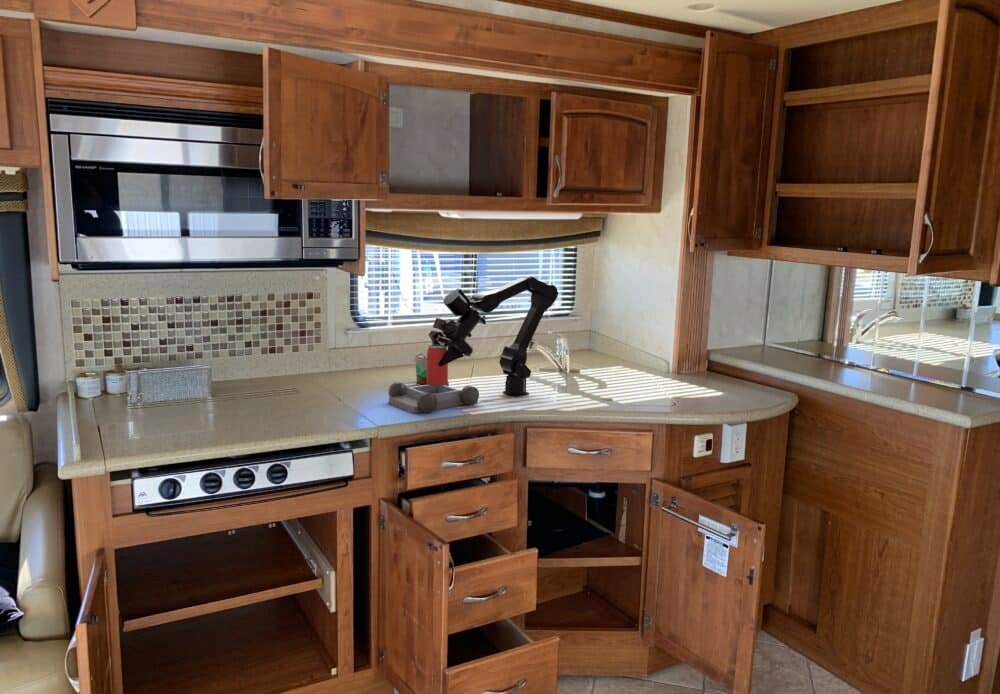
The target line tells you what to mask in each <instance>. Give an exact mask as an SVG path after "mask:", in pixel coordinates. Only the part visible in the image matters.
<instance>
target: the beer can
mask: <svg viewBox="0 0 1000 694" xmlns="http://www.w3.org/2000/svg"><path fill="white" fill-rule="evenodd" d="M447 350H448V348H447V347H446V346H444V345H432V344H431V345H428V348H427V351H426V356H427V384H428V385H430V386H444V385H446V384H447V383H448V382H449V363H447V364H445V365H443V366H441V367H440V366H439V365H438V364H439V362H440V360H441V359H442V357H443V356H444V354H445V353H446V351H447Z"/></svg>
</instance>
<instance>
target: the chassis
mask: <svg viewBox="0 0 1000 694" xmlns="http://www.w3.org/2000/svg"><path fill="white" fill-rule="evenodd" d="M387 393H388V404H389V403H390V404H389V405H391V404H392V406H394V405H395V407H397V406H398V407H397V408H399V407H400V409H402V408H403V409H402V410H404V409H406V410H405V411H407V410H409V411H411V412H410V413H412V412H413V413H412V414H414V413H415V414H418V413H417V412H420V413H425V414H430V413H429V412H431V413H433V412H434V411H436V410H435V409H437V410H442V408H443V409H448V407H449V408H453V407H454V408H455V407H459V405H460V406H465V404H466V406H471V405H472V406H474V405H475V404H477V403H478V401H479V398H480V391H479V390H478V388H477V387H475V386H473V385H465V386H464V387H463V388H462V389H457V388H456V387H455V388H454V387H451V386H450V385H449V381H448V383H447V384H446V385H444V386H430V385H422V386H421V385H417V386H410V387H408V386H407V384H406V383H403V382H400V381H395V382H393V383H392V384H390V386H389V388H388V392H387ZM472 406H471V407H472ZM409 411H408V412H409Z"/></svg>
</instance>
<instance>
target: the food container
mask: <svg viewBox="0 0 1000 694" xmlns="http://www.w3.org/2000/svg"><path fill="white" fill-rule="evenodd" d="M413 362H414V363H415V375H416V376H415V378H416V384H417V385H418V384H419V385H418V386H421V385H428V384H427V355H424V354H423V352H417V353H415V354H414V356H413Z"/></svg>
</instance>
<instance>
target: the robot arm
mask: <svg viewBox="0 0 1000 694" xmlns="http://www.w3.org/2000/svg"><path fill="white" fill-rule="evenodd" d="M525 291H527V292H528V293H530V294H531V295H530V307H529V310H528V312H527V314H526V316H525V318H524V320H523V321H522V325H521V326H520V328H519V330H518V333H517V335H516V337H515V340H513V341H514V342H513V343H512V344H511V345H510V346H507V345H505V346H504V347H503V350H502V353H501V354H500V355H499V361H498V363H499V365H500V368H501V369H502V372H503V374H504V375H506V376H505V377H506V379H505V383H504V384H505V385H504V387H505V388H504V390H503V391H502V393H503V394H505V395H509V396H512V397H520V396H525V395H530V392H528V391H527V378H530V377H531V374H532V370H531V369H530V368H529V367H528V366H527V365H526V363H527V360H528V355H527V353H528V352H527V350H528V348H529V346H530V344H531V343H532V342H531V341H532V339H533V338H534V336H535V333H536V330H537V328H538V327H539V325H540V322H541V320H542V319H543V316H544V314H545V312H546V311H547V310H548V309H549V308H551V307H552V306H553V304H554V303H555V301H557V298H558V296H559V292H558V288H557V287H556V286H555V285H554V284H550V283H549V284H548V283H546V282H543V281H541V280H539V279H537V278H535V277H534V276H531V275H526V274H525V275H522V276H520V277H519V278H517V279H515V280H513V281H510V282H508V283H505V284H503V285H501V286H499V287H496V288H495V289H492V290H483V291H480V292H479V291H478V292H476V293H475V294H473V295H472V296H471V297H467V295H466V294H465V293H464V291H463V290H462V289H461V288H456V289H455V290H453V291H451V292H450V293H448V294H446V295H445V297H444V299H443V301H442V302H443V304H444V306H445V307H446V308H447V309H448V310H449V311H450V312H451V313H452V314H453V315H454V317H458V316H459V317H458V319H457V320H456V321H455V320H453V319H451V318H448V319H447V320H446V319H442V318H439V317H436V318H435V320H434V323H433V325H432V328H433V329H438V330H431V331H430V332H429V333H428V337H429V338H430V340H431V343H432V344H431V345H444V346H446V348H447V351H446V353H445V354H444V356H443V357H442V359H441V360H440V362H439V364H438V365H439V366H440V367H441V366H443V365H445V364H447V363H448V364H449V363H451V362H453V361H456V360H459V359H461V358H465V356H466V357H468V358H469V357H471V355H472V354H473V351H474V349H473V348H474V347H472V345H471V344H470V343H469V342H468V341H467V340H466V339H467V338H471V337H472V334H471V332H472V331H473V330H474V329H475V328H476V326H478V324H482V325H486V324H487V323H486V315H484V314H483V315H482V314H480V313H481V312H482V313H487V314H488V313H491V312H493V311H494V310H495V309H497V308H498V307H499V306H500V304H502V303H503V302H504V301H506V300H509V299H510V298H513V297H514V296H517V295H520V294H521V293H523V292H525Z"/></svg>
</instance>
